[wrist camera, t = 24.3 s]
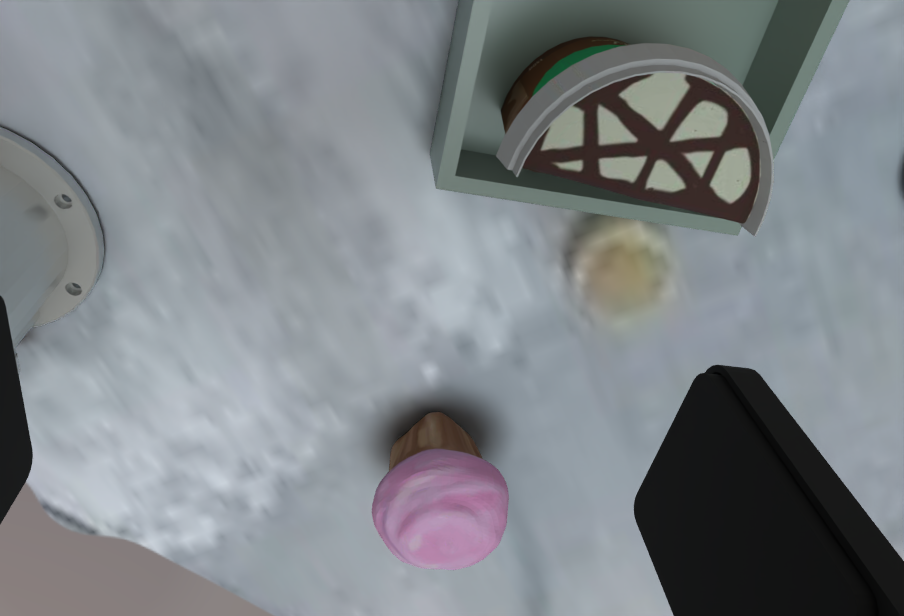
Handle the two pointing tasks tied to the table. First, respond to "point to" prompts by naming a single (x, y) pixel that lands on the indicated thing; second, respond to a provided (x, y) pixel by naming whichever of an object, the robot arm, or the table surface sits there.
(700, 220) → the tote
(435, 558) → the cupcake
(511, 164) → the food container
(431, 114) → the table surface
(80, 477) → the table surface
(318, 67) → the table surface
